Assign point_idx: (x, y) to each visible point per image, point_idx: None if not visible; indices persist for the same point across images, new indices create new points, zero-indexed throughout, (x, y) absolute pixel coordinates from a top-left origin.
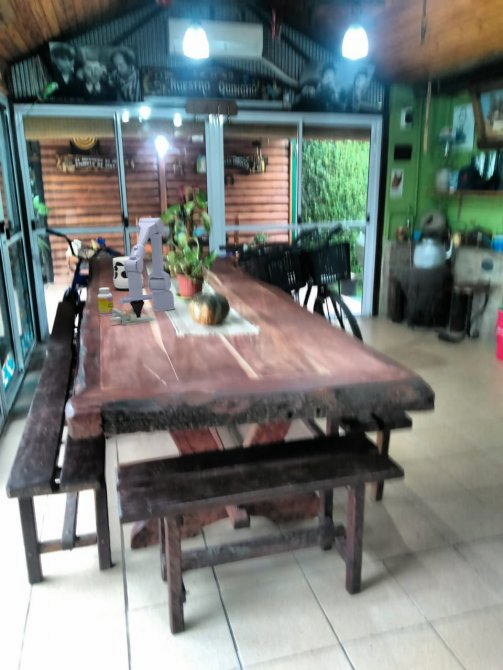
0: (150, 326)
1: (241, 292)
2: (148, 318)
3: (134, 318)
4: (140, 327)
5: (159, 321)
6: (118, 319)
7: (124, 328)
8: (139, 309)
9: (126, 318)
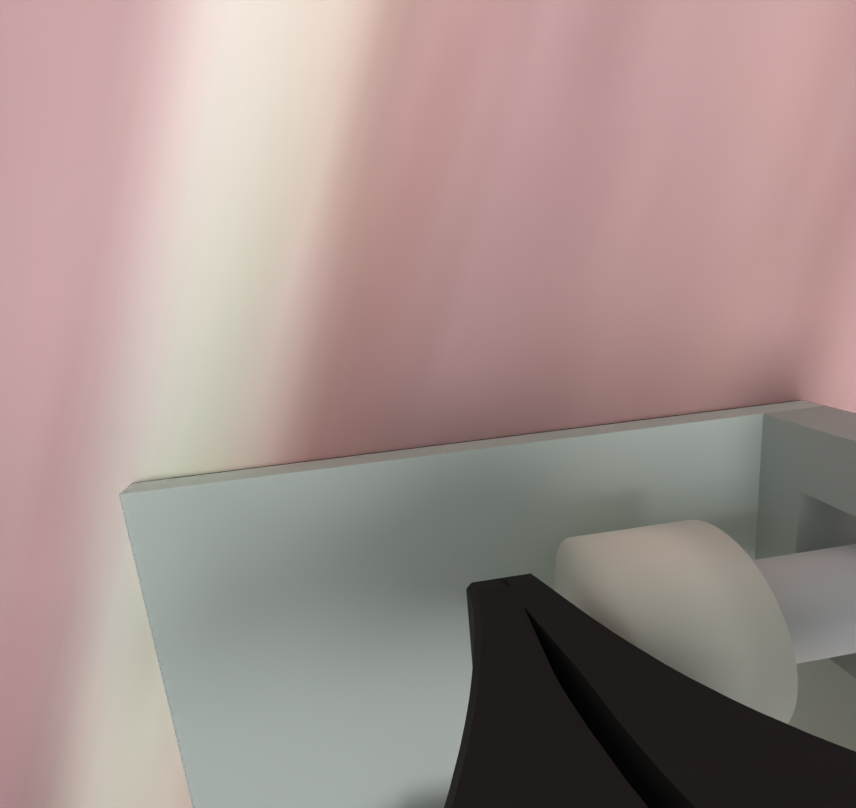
0: (369, 96)
1: None
2: (251, 670)
3: (629, 531)
4: (577, 153)
5: (67, 415)
6: None
7: (837, 273)
8: (571, 710)
9: (808, 554)
